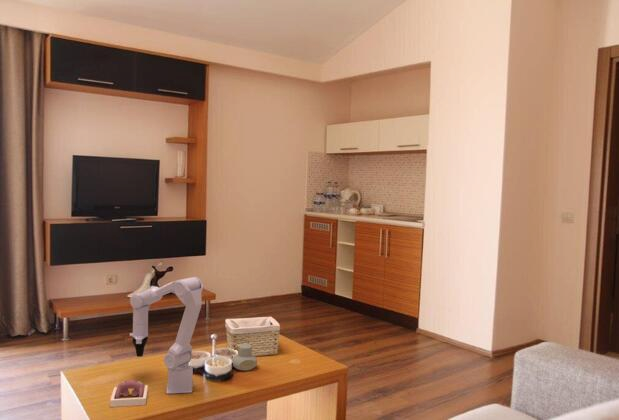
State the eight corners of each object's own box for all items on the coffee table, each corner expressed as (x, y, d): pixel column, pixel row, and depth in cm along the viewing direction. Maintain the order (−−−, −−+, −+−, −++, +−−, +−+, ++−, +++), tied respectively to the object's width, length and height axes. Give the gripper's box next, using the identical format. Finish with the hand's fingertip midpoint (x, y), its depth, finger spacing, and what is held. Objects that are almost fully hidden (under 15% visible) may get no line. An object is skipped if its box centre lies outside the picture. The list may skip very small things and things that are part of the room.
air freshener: (234, 373, 221) (235, 350, 221) (229, 366, 229) (230, 344, 228) (259, 370, 226) (260, 347, 225) (253, 363, 233) (254, 341, 233)
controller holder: (147, 391, 200) (147, 385, 199) (145, 404, 188) (145, 398, 188) (114, 393, 197) (114, 386, 197) (110, 407, 185) (110, 400, 185)
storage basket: (229, 359, 237) (230, 327, 236) (223, 348, 253) (224, 318, 252) (280, 355, 245) (281, 324, 244) (271, 345, 260) (272, 315, 259)
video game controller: (144, 399, 196) (145, 380, 198) (142, 399, 191) (144, 379, 194) (116, 400, 194) (118, 380, 197) (114, 399, 190) (116, 379, 193)
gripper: (131, 318, 216) (131, 350, 217) (128, 328, 202) (127, 362, 203) (149, 317, 218) (148, 349, 218) (147, 327, 203) (146, 361, 204)
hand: (139, 356), depth 211 cm, fingers closed
